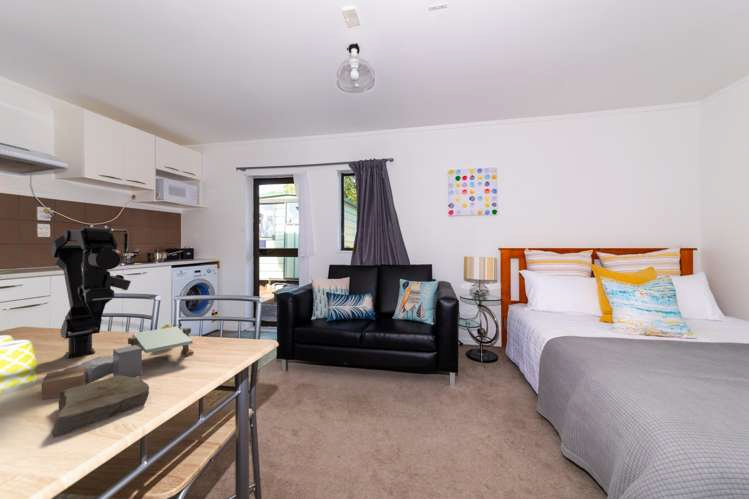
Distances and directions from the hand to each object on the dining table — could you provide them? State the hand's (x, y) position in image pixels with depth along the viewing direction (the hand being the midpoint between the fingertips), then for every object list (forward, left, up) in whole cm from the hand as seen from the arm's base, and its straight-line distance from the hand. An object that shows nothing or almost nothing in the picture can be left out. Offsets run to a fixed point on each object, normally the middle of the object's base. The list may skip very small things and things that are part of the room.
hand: (95, 319), depth 96 cm
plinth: (+20, -8, -13) cm, 25 cm away
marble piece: (+37, -4, -14) cm, 40 cm away
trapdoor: (+13, +14, -11) cm, 22 cm away
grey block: (+21, +4, -13) cm, 25 cm away
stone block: (+11, -2, -14) cm, 17 cm away
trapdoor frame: (+12, +14, -13) cm, 23 cm away
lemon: (0, +19, -13) cm, 23 cm away
